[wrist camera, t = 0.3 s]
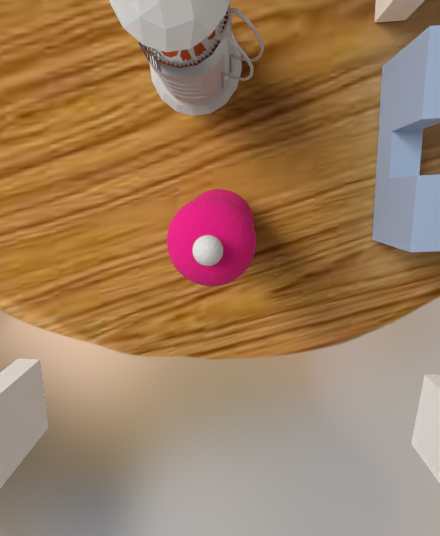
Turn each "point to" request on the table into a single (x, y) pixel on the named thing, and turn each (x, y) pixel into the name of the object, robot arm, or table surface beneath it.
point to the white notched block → (395, 9)
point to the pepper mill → (212, 238)
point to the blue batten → (408, 148)
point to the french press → (188, 49)
